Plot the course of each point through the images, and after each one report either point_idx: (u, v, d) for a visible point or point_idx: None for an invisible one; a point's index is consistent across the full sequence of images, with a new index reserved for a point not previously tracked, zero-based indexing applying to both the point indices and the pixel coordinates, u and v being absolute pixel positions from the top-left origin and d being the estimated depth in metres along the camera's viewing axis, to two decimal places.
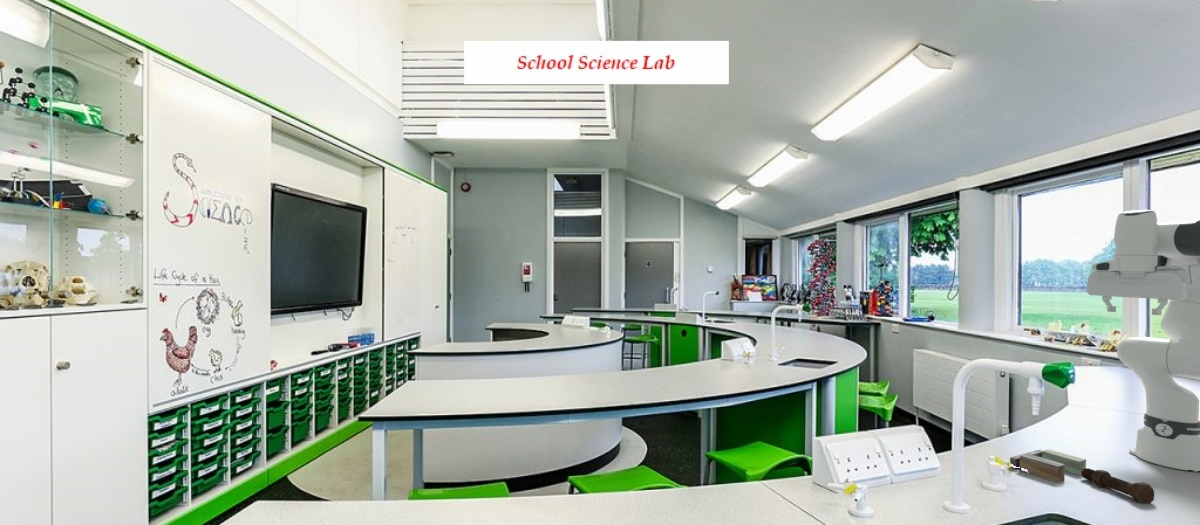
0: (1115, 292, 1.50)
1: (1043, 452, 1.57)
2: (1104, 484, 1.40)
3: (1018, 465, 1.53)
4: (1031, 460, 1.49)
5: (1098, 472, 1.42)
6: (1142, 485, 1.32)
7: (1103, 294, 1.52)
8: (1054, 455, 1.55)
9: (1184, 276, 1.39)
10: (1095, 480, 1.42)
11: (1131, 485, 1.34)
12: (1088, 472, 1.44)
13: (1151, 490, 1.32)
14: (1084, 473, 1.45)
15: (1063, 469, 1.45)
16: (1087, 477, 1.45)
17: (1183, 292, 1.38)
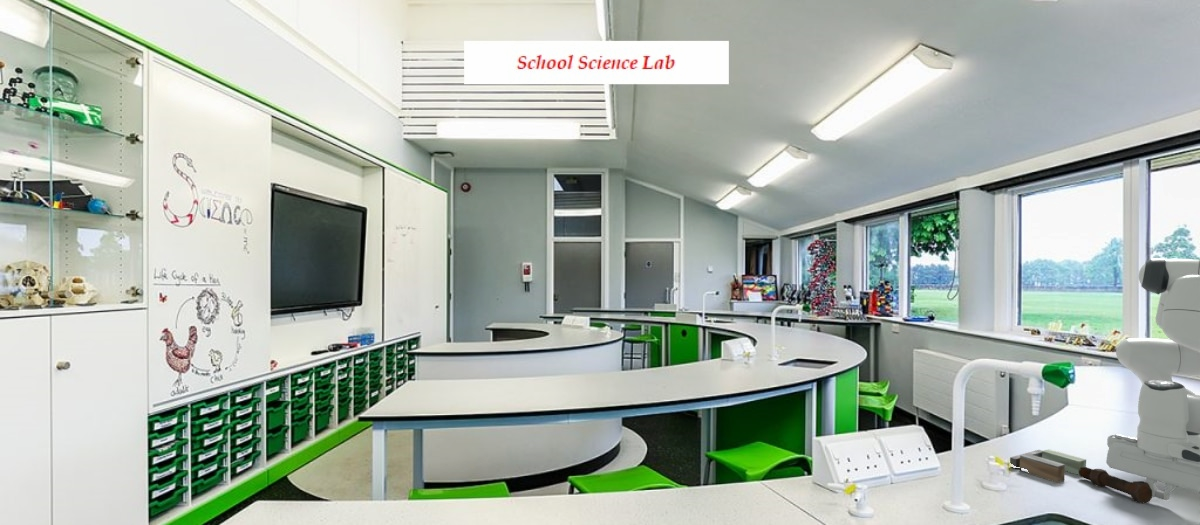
0: None
1: (1043, 452, 1.57)
2: (1102, 483, 1.41)
3: (1018, 465, 1.53)
4: (1031, 460, 1.49)
5: (1096, 471, 1.42)
6: (1141, 484, 1.32)
7: None
8: (1054, 455, 1.55)
9: None
10: (1093, 479, 1.42)
11: (1130, 484, 1.34)
12: (1086, 471, 1.45)
13: (1149, 488, 1.32)
14: (1082, 472, 1.46)
15: (1063, 469, 1.45)
16: (1085, 476, 1.45)
17: None
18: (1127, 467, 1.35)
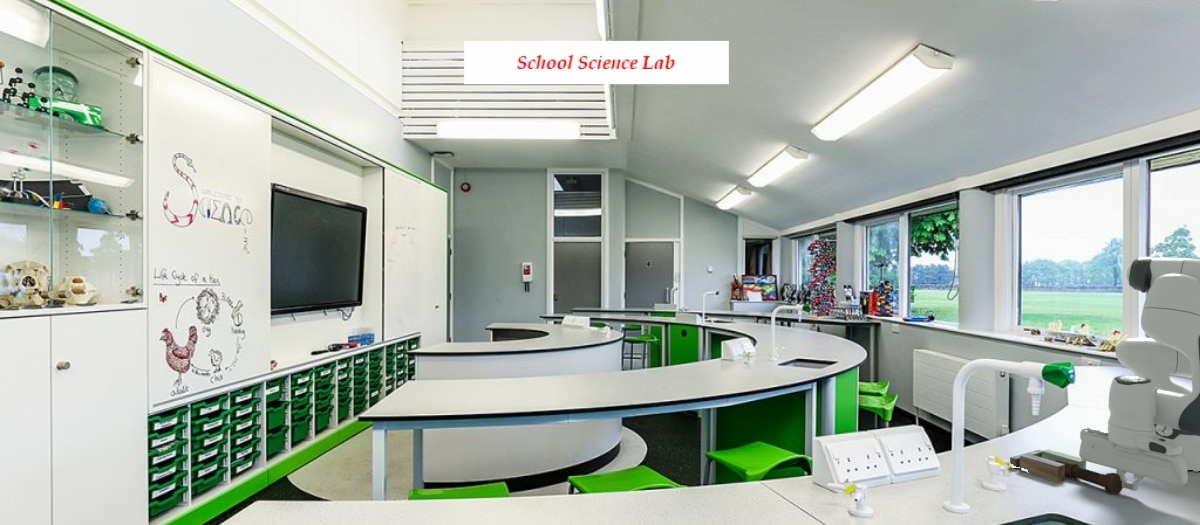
0: None
1: (1043, 452, 1.57)
2: (1074, 475, 1.45)
3: (1018, 465, 1.53)
4: (1031, 460, 1.49)
5: (1068, 464, 1.47)
6: (1113, 475, 1.37)
7: None
8: (1054, 455, 1.55)
9: None
10: (1066, 472, 1.46)
11: (1102, 476, 1.39)
12: None
13: (1120, 480, 1.37)
14: None
15: (1063, 469, 1.45)
16: None
17: None
18: (1099, 459, 1.41)
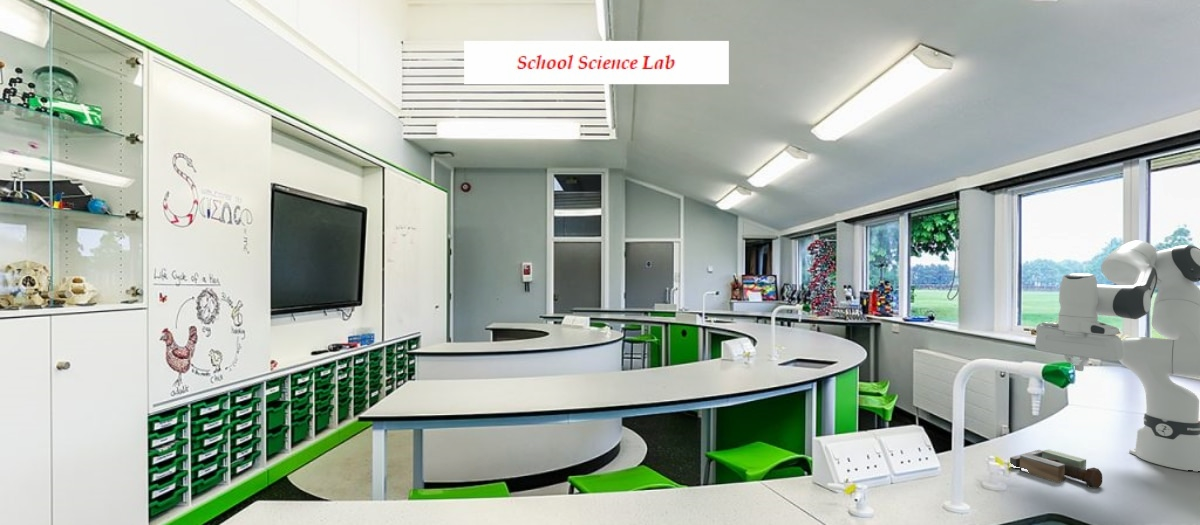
0: None
1: (1043, 452, 1.57)
2: None
3: (1018, 465, 1.53)
4: (1031, 460, 1.49)
5: None
6: (1094, 470, 1.41)
7: None
8: (1054, 455, 1.55)
9: None
10: None
11: (1083, 471, 1.43)
12: None
13: (1100, 474, 1.41)
14: None
15: (1063, 469, 1.45)
16: None
17: None
18: (1051, 347, 1.62)
